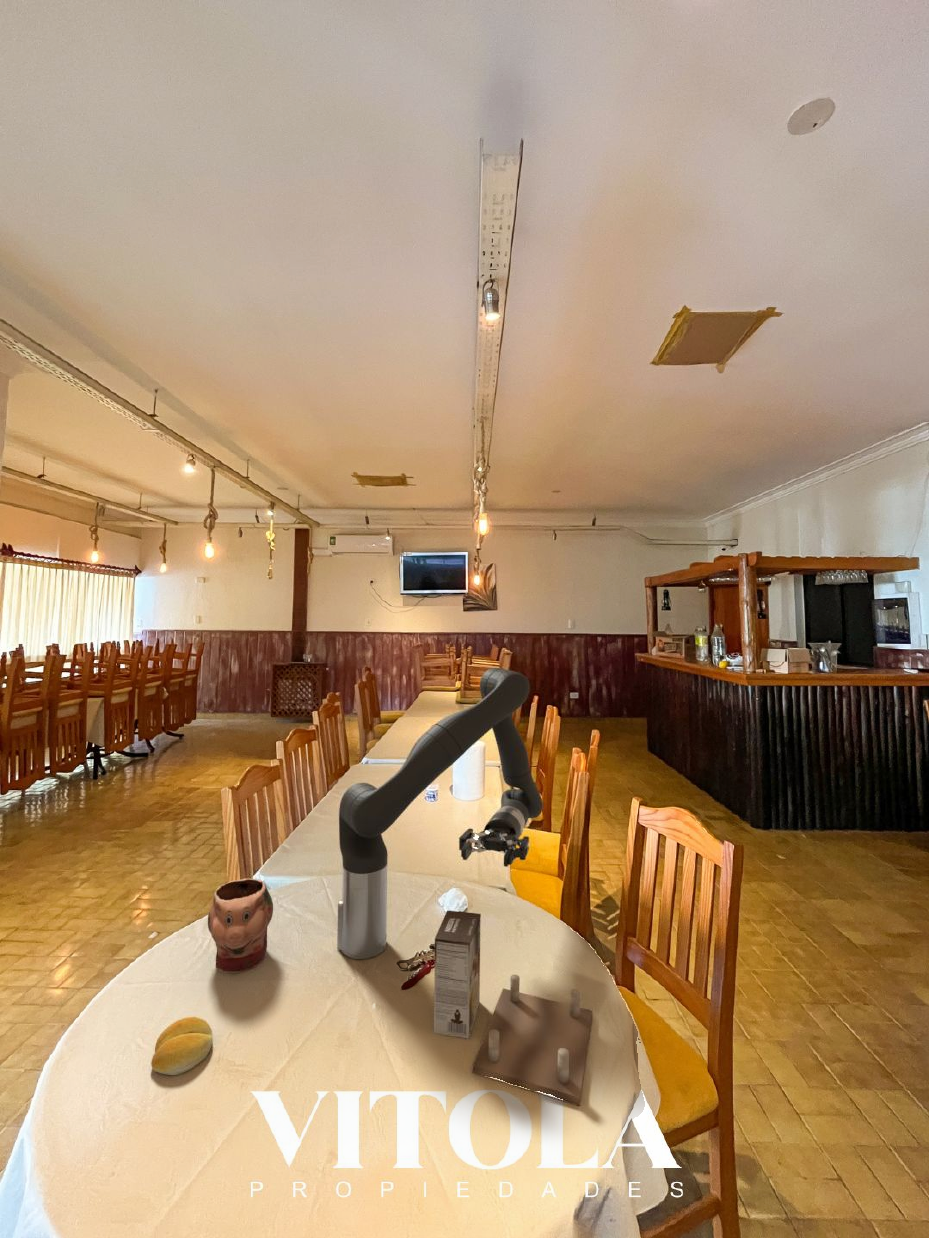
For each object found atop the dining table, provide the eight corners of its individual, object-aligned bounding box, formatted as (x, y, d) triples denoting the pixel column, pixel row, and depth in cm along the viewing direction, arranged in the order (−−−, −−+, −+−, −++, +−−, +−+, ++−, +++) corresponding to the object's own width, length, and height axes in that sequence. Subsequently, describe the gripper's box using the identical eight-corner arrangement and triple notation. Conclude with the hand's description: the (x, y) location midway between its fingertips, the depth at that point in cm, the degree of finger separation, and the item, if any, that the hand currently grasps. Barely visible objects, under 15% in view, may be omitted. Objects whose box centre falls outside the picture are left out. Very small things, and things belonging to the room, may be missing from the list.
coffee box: (445, 995, 98) (447, 908, 98) (480, 1001, 97) (481, 912, 97) (432, 1033, 89) (434, 937, 89) (470, 1040, 88) (472, 942, 88)
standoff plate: (472, 1072, 82) (473, 1038, 82) (503, 994, 99) (503, 966, 99) (579, 1105, 77) (580, 1069, 77) (592, 1017, 94) (592, 987, 94)
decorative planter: (208, 933, 116) (209, 869, 116) (269, 921, 121) (269, 859, 121) (205, 994, 98) (206, 917, 98) (276, 977, 103) (277, 904, 103)
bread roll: (147, 1085, 79) (147, 1058, 79) (158, 1040, 88) (159, 1015, 88) (209, 1069, 82) (209, 1043, 82) (214, 1027, 90) (215, 1003, 90)
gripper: (475, 807, 125) (451, 834, 109) (536, 815, 120) (519, 844, 105) (475, 839, 125) (450, 871, 110) (536, 848, 120) (519, 883, 105)
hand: (484, 858), depth 107 cm, fingers open, 8 cm apart
